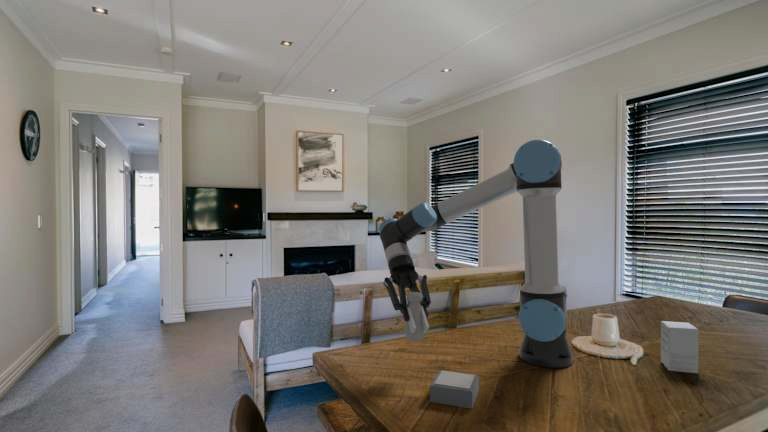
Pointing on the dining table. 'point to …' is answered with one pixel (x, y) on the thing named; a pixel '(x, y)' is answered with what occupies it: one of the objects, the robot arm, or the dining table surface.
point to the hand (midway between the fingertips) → (420, 329)
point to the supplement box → (679, 346)
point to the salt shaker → (415, 317)
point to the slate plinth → (454, 389)
